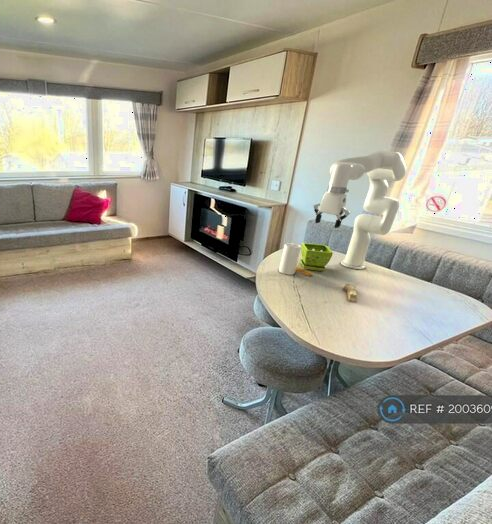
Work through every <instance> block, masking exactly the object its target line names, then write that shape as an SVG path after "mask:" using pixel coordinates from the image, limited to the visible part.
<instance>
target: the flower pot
mask: <svg viewBox="0 0 492 524" xmlns="http://www.w3.org/2000/svg"><path fill="white" fill-rule="evenodd" d="M300 253H301V255H300V256H301V258H299V261H300V263H301V266H302V267H303V268H302V269H305V270H308V271H310V270H311V271H318V272H325V271H326V270H327V268H326V266H327V265H328V264H329V262H330V260H331V259H332V258H333V257H332V256H333V251H332V250H331V248H330V247H329V246H328V245H326V244H318V243H309V242H308V243H307V242H301V249H300Z"/></svg>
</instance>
